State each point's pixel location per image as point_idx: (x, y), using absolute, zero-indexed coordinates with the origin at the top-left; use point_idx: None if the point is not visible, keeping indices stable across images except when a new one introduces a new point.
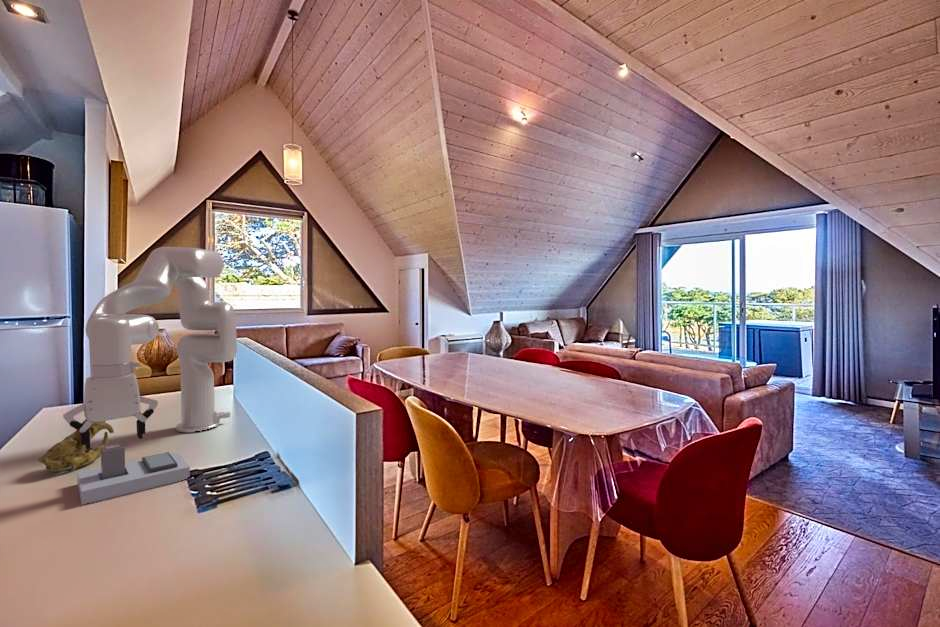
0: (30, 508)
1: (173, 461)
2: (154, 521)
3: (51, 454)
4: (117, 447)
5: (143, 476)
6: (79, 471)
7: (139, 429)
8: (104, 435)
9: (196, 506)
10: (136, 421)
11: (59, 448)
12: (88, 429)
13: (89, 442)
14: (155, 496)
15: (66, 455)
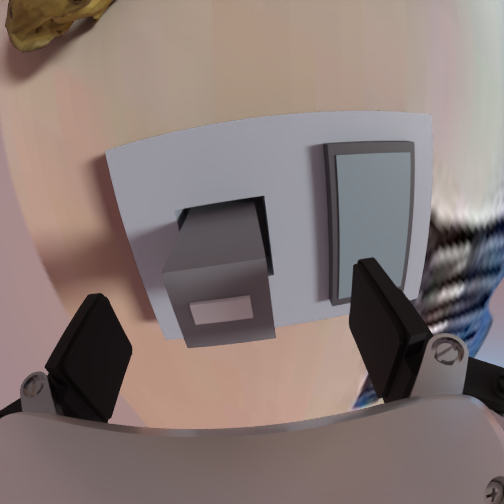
0: (73, 272)
1: (402, 269)
2: (298, 413)
3: (16, 26)
4: (244, 320)
5: (310, 315)
6: (110, 149)
7: (370, 368)
8: None
9: (359, 394)
10: (397, 333)
11: (24, 7)
12: (74, 382)
13: (123, 373)
14: (318, 341)
15: (54, 17)
